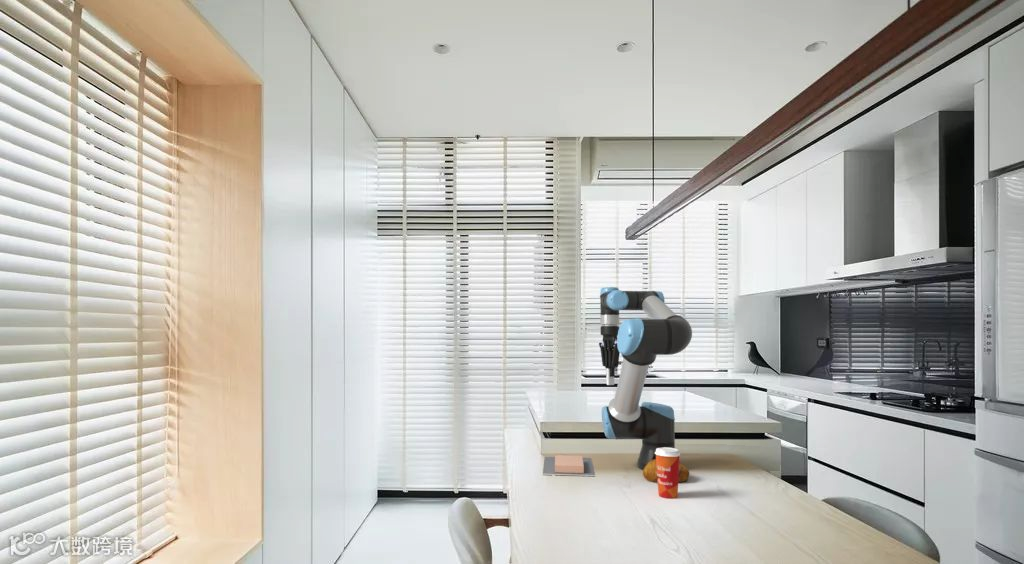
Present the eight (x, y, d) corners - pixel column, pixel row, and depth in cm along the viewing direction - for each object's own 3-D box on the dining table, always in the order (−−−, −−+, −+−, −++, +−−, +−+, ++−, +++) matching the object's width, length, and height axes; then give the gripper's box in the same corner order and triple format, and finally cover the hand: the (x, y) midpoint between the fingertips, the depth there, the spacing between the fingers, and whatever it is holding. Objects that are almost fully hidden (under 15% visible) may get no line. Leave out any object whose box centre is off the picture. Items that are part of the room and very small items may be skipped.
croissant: (692, 491, 194) (695, 467, 194) (644, 484, 195) (648, 459, 195) (681, 478, 208) (684, 456, 209) (637, 471, 209) (640, 449, 209)
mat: (544, 458, 231) (544, 456, 231) (591, 459, 229) (591, 457, 229) (542, 475, 205) (542, 473, 205) (595, 476, 203) (594, 474, 203)
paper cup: (649, 494, 183) (649, 448, 184) (669, 491, 186) (669, 446, 187) (666, 500, 176) (665, 453, 177) (686, 497, 179) (686, 450, 180)
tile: (555, 455, 222) (554, 465, 206) (582, 455, 221) (583, 466, 205) (555, 462, 222) (554, 472, 206) (582, 462, 221) (583, 473, 205)
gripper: (627, 325, 234) (627, 385, 232) (608, 325, 245) (609, 383, 244) (611, 325, 231) (611, 386, 229) (593, 325, 242) (593, 383, 240)
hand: (610, 384), depth 236 cm, fingers closed
